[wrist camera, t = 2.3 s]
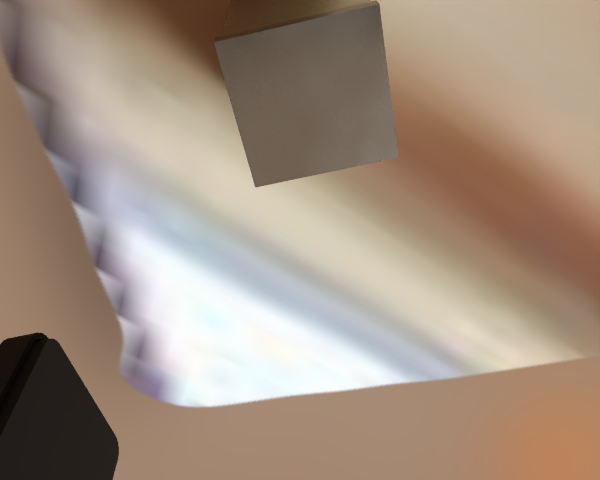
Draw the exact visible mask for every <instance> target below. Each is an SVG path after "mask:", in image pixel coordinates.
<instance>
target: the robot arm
mask: <svg viewBox="0 0 600 480" xmlns="http://www.w3.org/2000/svg"><path fill="white" fill-rule="evenodd" d="M118 455H119V447H118V441H117V438H116V436H115V434H114V432H113V431H112V429H111V428H110V426H109V424H108V423H107V421H106V420H105V418H104V416H103V414H102V413H101V411H100V410H99V408H98V406H97V405H96V403H95V402H94V400H93V398H92V396H91V395H90V393H89V392H88V390H87V388H86V387H85V385H84V383H83V382H82V380H81V378H80V377H79V375H78V374H77V372H76V370H75V369H74V367H73V365H72V364H71V362H70V360H69V359H68V357H67V356H66V354H65V352H64V351H63V349H62V347H61V346H60V344H59V343H58V342H57V341H56V340H55V339H48V337H47V336H46V335H44V334H43V333H33V334H29V335H24V336H18V337H14V338H8V339H6V340H4V341H3V342H2V343H1V344H0V480H113V475H114V471H115V468H116V464H117V460H118Z"/></svg>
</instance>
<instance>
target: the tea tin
mask: <svg viewBox="0 0 600 480" xmlns="http://www.w3.org/2000/svg"><path fill="white" fill-rule="evenodd" d="M214 46H215V49H216V53H217V56H218V59H219V63H220V66H221V70H222V73H223V77H224V80H225V84H226V87H227V91H228V94H229V98H230V101H231V104H232V108H233V111H234V115H235V118H236V122H237V125H238V129H239V132H240V136H241V139H242V143H243V146H244V149H245V153H246V156H247V160H248V163H249V167H250V170H251V174H252V177H253V181H254V184H255V187H260V186H264V185H269V184H274V183H279V182H283V181H288V180H293V179H298V178H303V177H307V176H312V175H317V174H322V173H327V172H331V171H336V170H341V169H346V168H350V167H355V166H360V165H365V164H370V163H374V162H379V161H384V160H389V159H394V158H398V152H397V144H396V136H395V128H394V120H393V111H392V103H391V95H390V87H389V79H388V71H387V63H386V55H385V46H384V38H383V30H382V22H381V14H380V6H379V3H378V2H377V1H376V0H375V1H370V0H237V1H233V2H231V5H230V8H229V11H228V14H227V17H226V20H225V23H224V27H223V30H222V33H221V36H220V37H216V38H215V40H214Z"/></svg>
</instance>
